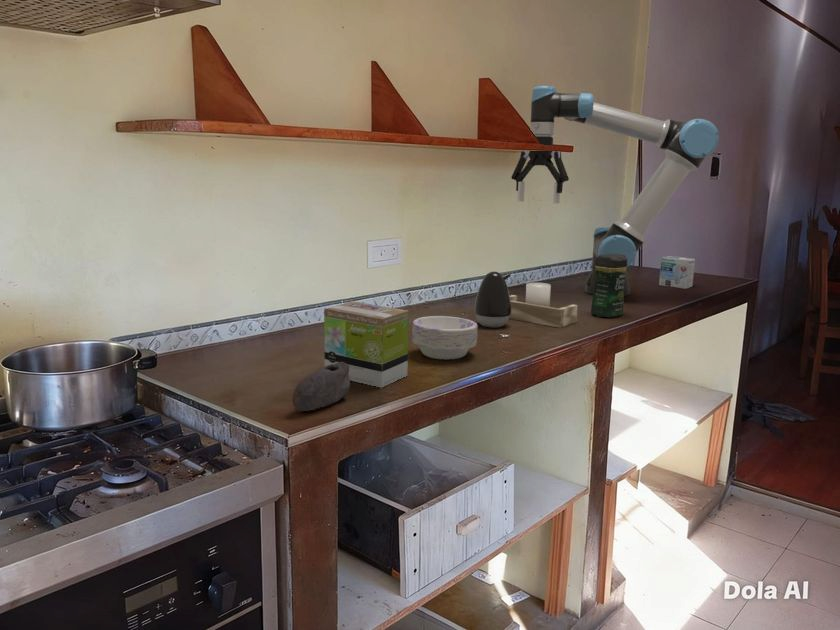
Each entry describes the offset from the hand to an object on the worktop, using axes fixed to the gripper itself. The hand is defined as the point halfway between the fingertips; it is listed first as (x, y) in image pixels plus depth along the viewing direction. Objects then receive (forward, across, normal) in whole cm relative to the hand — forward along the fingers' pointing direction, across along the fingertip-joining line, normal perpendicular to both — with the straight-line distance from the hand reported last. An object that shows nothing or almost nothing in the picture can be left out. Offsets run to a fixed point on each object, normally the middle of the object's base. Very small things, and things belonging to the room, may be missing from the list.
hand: (538, 202), depth 232 cm
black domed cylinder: (+32, +15, -46) cm, 58 cm away
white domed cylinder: (+32, +19, -29) cm, 47 cm away
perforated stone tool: (+32, +29, -122) cm, 130 cm away
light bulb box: (+32, +27, +58) cm, 72 cm away
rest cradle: (+32, +19, -30) cm, 48 cm away
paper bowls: (+32, +24, -79) cm, 89 cm away
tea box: (+32, +23, -104) cm, 111 cm away
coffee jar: (+32, +32, -10) cm, 46 cm away
